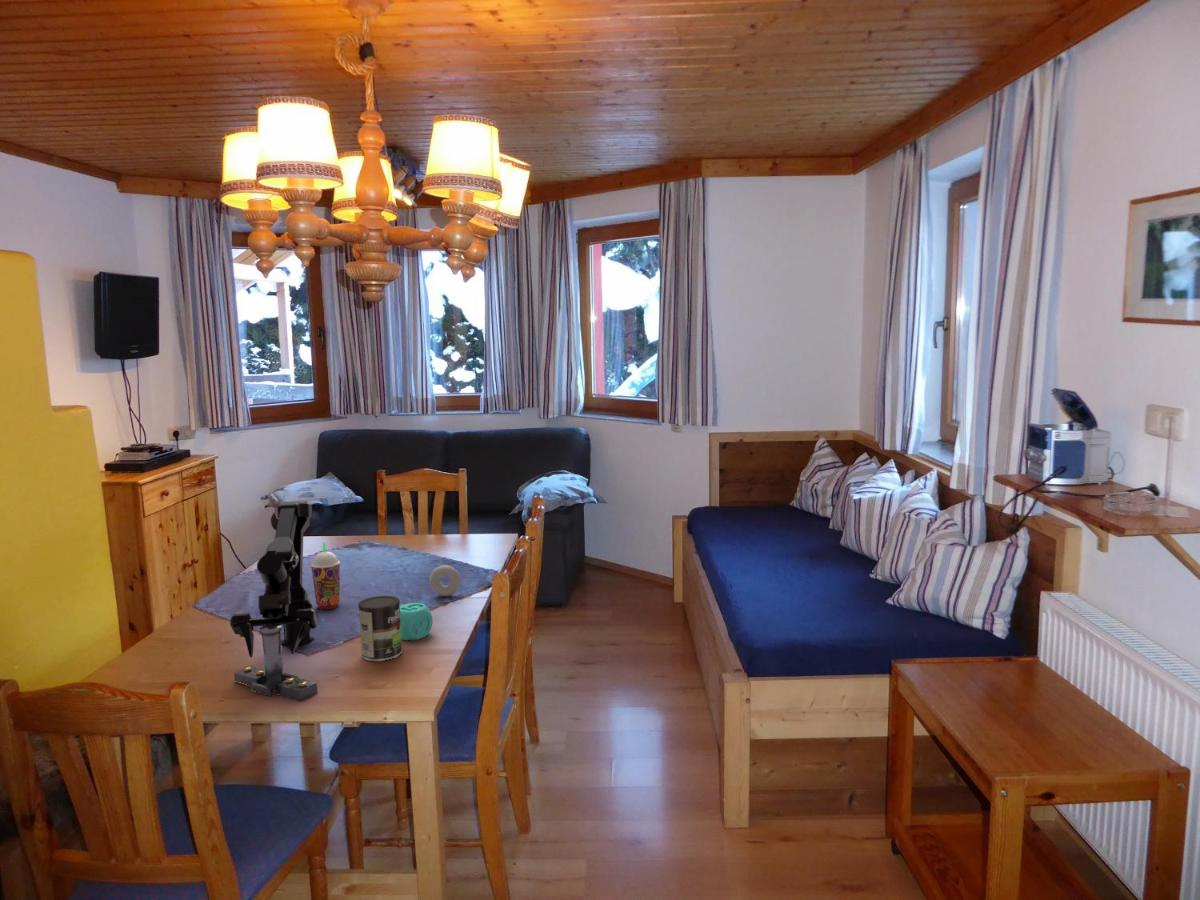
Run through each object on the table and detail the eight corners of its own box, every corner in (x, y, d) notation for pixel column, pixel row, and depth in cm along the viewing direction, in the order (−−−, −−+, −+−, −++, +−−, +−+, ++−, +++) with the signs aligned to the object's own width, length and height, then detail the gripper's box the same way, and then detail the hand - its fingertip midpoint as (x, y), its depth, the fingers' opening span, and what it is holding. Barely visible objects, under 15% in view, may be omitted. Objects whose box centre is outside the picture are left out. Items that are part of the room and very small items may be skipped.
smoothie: (326, 612, 251) (322, 547, 248) (307, 608, 256) (303, 544, 253) (348, 604, 258) (344, 541, 255) (329, 600, 263) (325, 538, 260)
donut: (463, 594, 266) (461, 564, 265) (459, 598, 263) (458, 567, 261) (432, 594, 267) (430, 563, 266) (428, 597, 264) (427, 566, 262)
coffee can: (409, 647, 222) (406, 596, 220) (391, 663, 212) (388, 609, 210) (372, 645, 224) (369, 594, 222) (354, 660, 214) (350, 607, 212)
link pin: (262, 686, 200) (257, 626, 197) (283, 681, 202) (278, 622, 200) (267, 693, 196) (262, 632, 194) (288, 688, 199) (284, 627, 196)
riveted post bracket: (229, 684, 201) (228, 672, 201) (257, 672, 208) (256, 660, 208) (294, 703, 190) (293, 691, 190) (322, 690, 197) (321, 677, 197)
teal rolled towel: (392, 636, 231) (390, 608, 230) (416, 628, 237) (415, 600, 236) (409, 643, 226) (407, 614, 225) (433, 634, 232) (432, 606, 231)
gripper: (228, 581, 198) (220, 643, 188) (311, 576, 201) (308, 636, 192) (239, 603, 206) (232, 663, 197) (318, 597, 210) (315, 656, 201)
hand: (271, 654), depth 196 cm, fingers open, 9 cm apart
